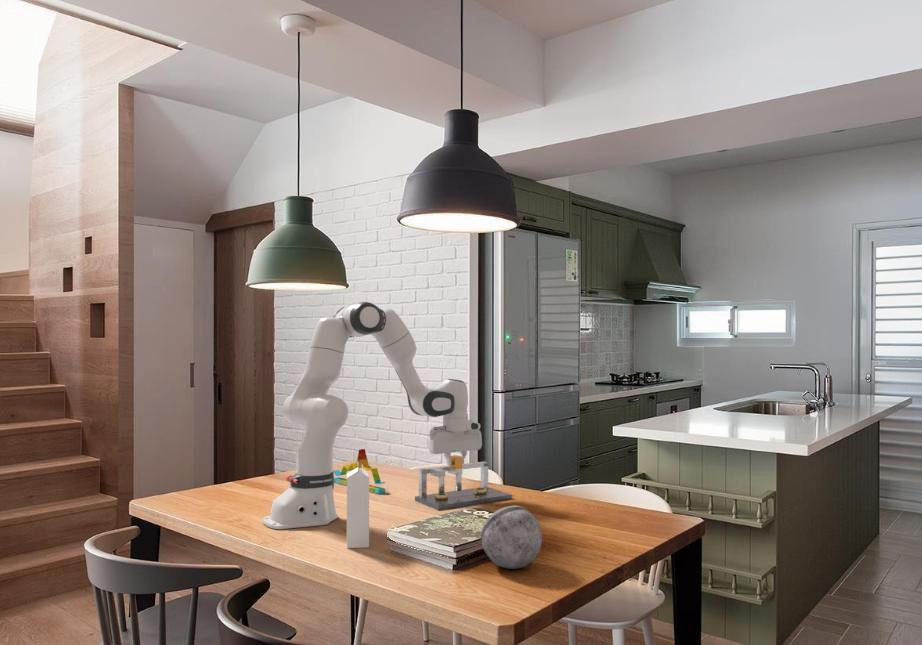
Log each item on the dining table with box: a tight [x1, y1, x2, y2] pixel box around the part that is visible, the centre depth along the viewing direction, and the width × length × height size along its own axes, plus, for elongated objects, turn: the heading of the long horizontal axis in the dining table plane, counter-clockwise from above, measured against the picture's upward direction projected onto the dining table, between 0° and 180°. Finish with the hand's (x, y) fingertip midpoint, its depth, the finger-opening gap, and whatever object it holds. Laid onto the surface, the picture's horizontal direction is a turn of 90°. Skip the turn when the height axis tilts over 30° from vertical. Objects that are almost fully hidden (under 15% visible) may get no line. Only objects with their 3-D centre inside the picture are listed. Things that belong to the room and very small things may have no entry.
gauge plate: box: [414, 460, 513, 511], centre depth 241 cm, size 30×16×11 cm, turn 123°
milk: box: [346, 467, 370, 549], centre depth 188 cm, size 6×6×22 cm
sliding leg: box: [447, 454, 463, 491], centre depth 242 cm, size 3×6×12 cm, turn 32°
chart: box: [332, 448, 386, 495], centre depth 262 cm, size 30×3×15 cm, turn 44°
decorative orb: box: [480, 505, 543, 570], centre depth 169 cm, size 15×14×15 cm
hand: (455, 464), depth 242 cm, fingers closed on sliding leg, 3 cm apart
